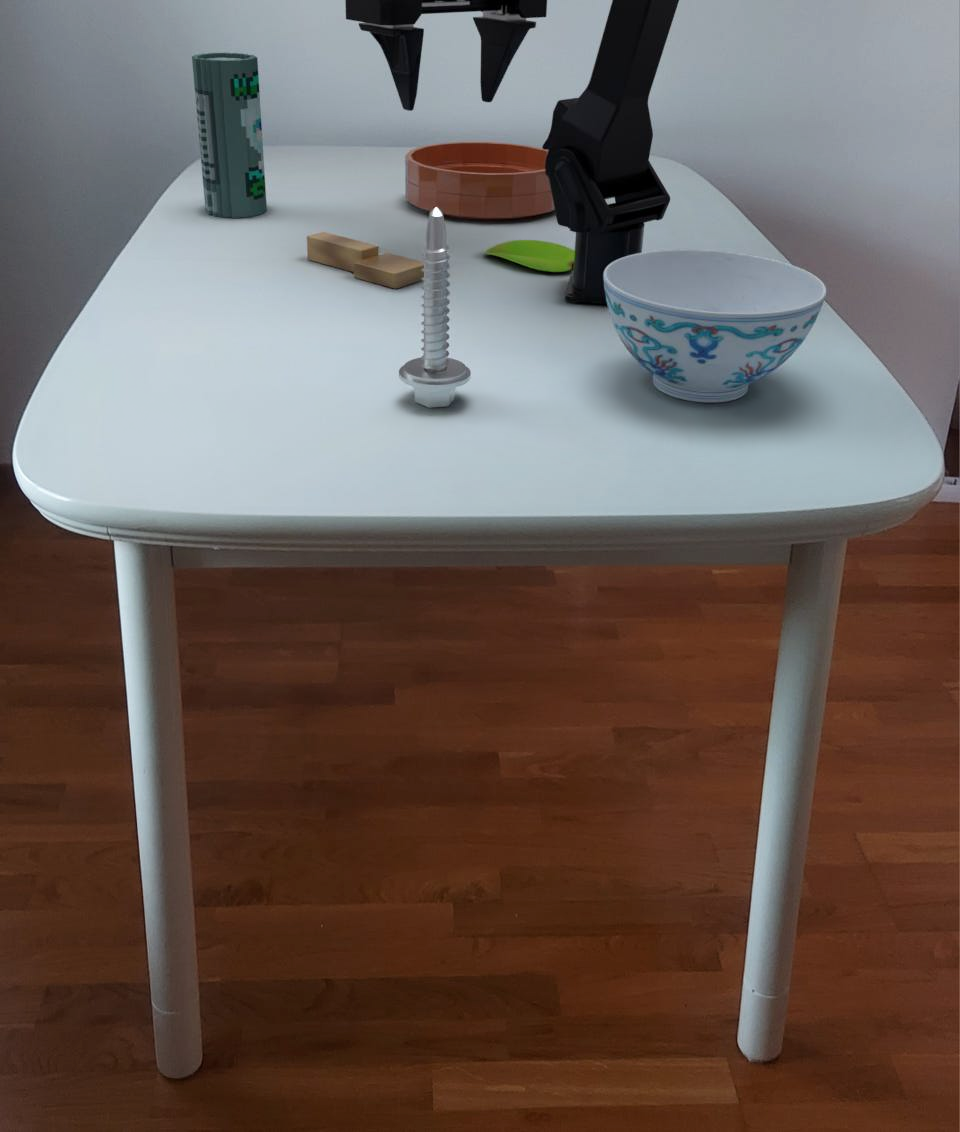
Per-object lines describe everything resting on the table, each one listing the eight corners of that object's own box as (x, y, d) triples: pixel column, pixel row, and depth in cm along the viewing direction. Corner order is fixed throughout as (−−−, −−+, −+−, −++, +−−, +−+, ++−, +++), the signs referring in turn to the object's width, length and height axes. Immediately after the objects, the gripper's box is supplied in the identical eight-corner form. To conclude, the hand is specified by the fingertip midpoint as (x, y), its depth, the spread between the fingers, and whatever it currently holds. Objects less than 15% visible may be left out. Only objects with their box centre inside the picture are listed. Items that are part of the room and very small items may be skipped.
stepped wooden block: (428, 278, 105) (429, 254, 104) (395, 289, 102) (395, 264, 101) (332, 252, 111) (331, 229, 110) (298, 262, 108) (297, 238, 107)
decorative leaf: (524, 283, 105) (525, 273, 105) (477, 253, 112) (477, 243, 111) (596, 268, 108) (596, 258, 108) (546, 240, 115) (546, 230, 114)
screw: (432, 420, 77) (384, 399, 80) (484, 402, 80) (436, 382, 83) (434, 220, 71) (381, 205, 74) (491, 208, 74) (438, 194, 76)
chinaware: (642, 435, 76) (654, 320, 72) (566, 356, 88) (573, 254, 84) (848, 417, 80) (870, 306, 76) (747, 343, 92) (761, 244, 88)
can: (271, 215, 122) (261, 60, 115) (212, 219, 120) (199, 61, 113) (258, 202, 127) (248, 52, 120) (202, 205, 125) (188, 53, 118)
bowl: (554, 228, 121) (557, 178, 119) (391, 217, 123) (390, 168, 121) (568, 191, 136) (571, 146, 133) (422, 182, 138) (422, 138, 135)
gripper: (474, -92, 110) (470, 86, 118) (306, -94, 100) (313, 101, 108) (556, -87, 103) (545, 102, 111) (383, -89, 92) (385, 120, 100)
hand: (448, 105), depth 108 cm, fingers open, 9 cm apart
